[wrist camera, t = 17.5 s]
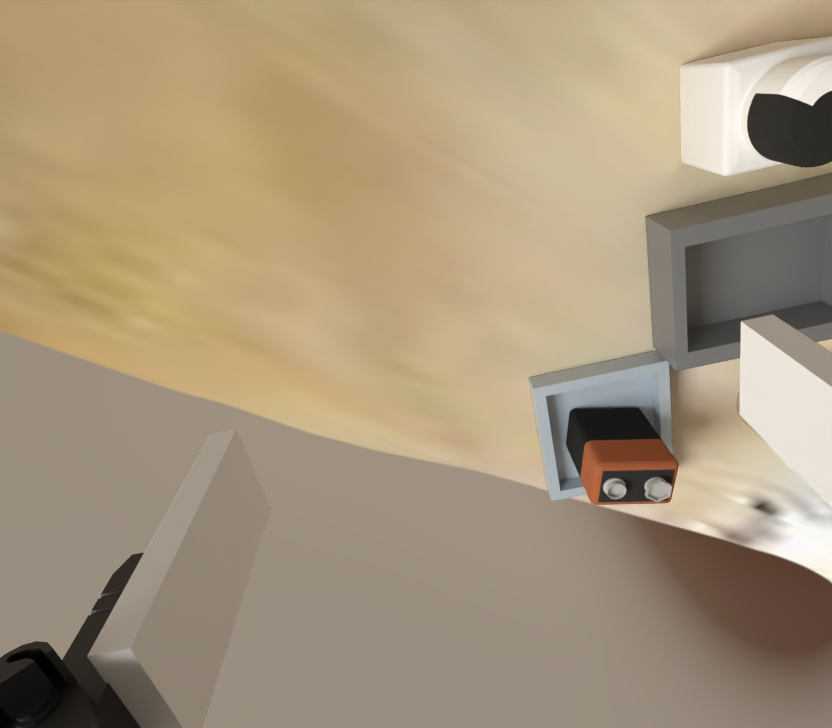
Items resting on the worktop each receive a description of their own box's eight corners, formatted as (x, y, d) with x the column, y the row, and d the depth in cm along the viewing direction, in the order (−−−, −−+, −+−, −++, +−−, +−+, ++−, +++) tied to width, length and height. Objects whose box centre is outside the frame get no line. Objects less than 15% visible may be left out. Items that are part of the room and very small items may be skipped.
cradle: (645, 216, 48) (670, 230, 43) (835, 172, 46) (881, 182, 42) (653, 351, 53) (676, 376, 48) (823, 315, 52) (863, 337, 47)
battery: (633, 443, 57) (676, 512, 48) (564, 445, 57) (593, 514, 48) (640, 405, 55) (686, 469, 46) (568, 406, 55) (600, 471, 46)
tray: (528, 377, 54) (533, 388, 52) (658, 349, 53) (668, 360, 51) (546, 486, 60) (551, 500, 58) (665, 463, 58) (674, 477, 57)
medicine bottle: (772, 143, 45) (887, 163, 34) (679, 164, 46) (763, 190, 35) (777, 41, 42) (905, 28, 31) (677, 64, 43) (769, 60, 32)
